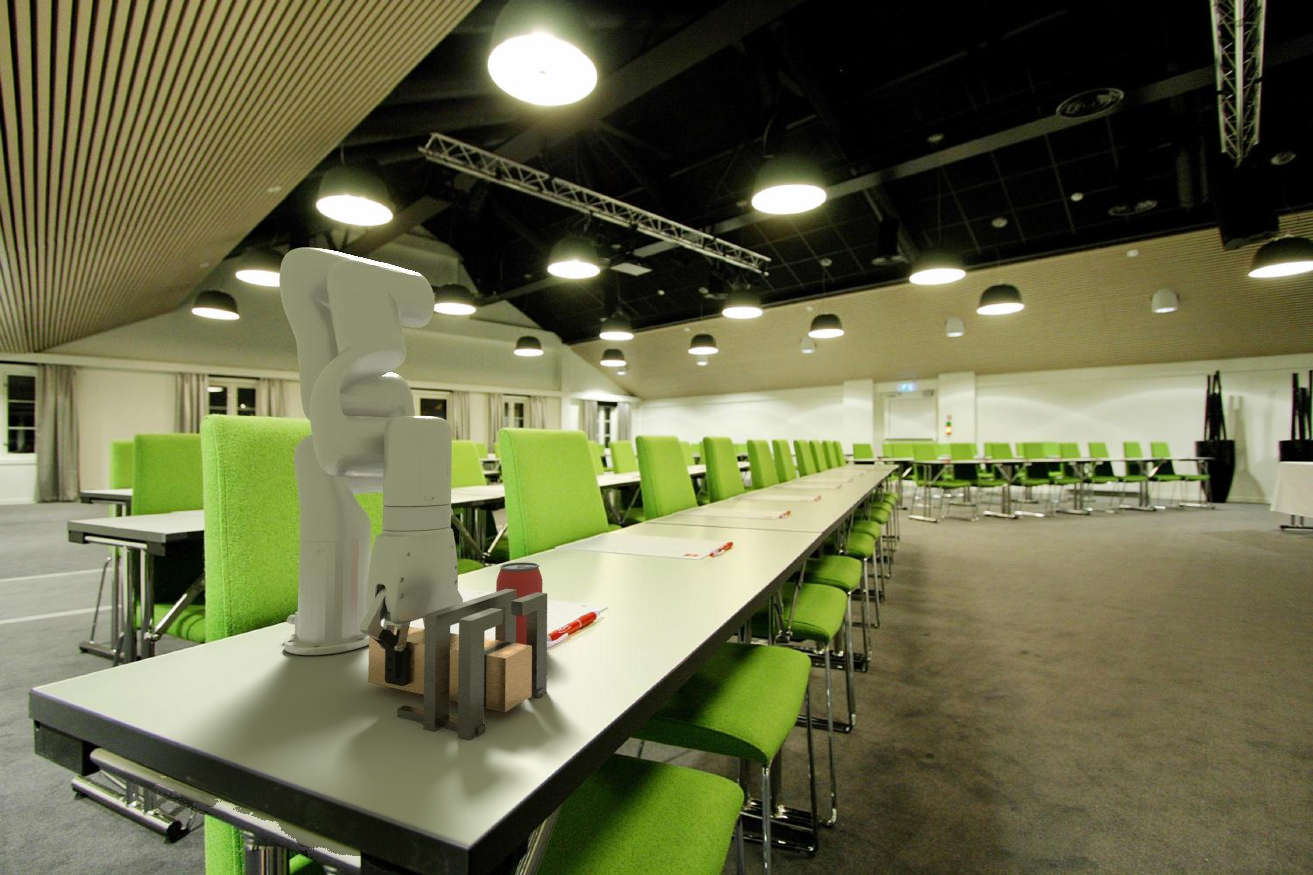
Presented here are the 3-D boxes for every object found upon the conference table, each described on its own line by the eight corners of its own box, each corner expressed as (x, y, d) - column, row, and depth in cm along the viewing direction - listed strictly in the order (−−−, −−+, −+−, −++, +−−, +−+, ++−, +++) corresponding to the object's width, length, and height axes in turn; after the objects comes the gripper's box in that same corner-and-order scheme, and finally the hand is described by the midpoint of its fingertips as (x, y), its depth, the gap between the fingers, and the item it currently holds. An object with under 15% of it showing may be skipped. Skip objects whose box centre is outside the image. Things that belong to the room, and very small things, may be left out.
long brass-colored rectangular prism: (368, 682, 68) (368, 634, 68) (399, 669, 72) (400, 624, 73) (505, 712, 60) (505, 658, 60) (531, 695, 64) (532, 645, 64)
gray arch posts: (389, 720, 61) (391, 609, 61) (474, 677, 73) (476, 585, 73) (471, 740, 56) (472, 621, 57) (548, 691, 68) (549, 593, 69)
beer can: (530, 657, 80) (531, 570, 81) (486, 654, 82) (487, 568, 82) (549, 643, 87) (549, 562, 87) (508, 640, 88) (508, 560, 88)
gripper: (445, 513, 78) (444, 650, 77) (330, 526, 63) (326, 697, 62) (490, 515, 75) (488, 658, 74) (380, 529, 60) (376, 709, 59)
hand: (415, 674), depth 68 cm, fingers closed on long brass-colored rectangular prism, 4 cm apart
